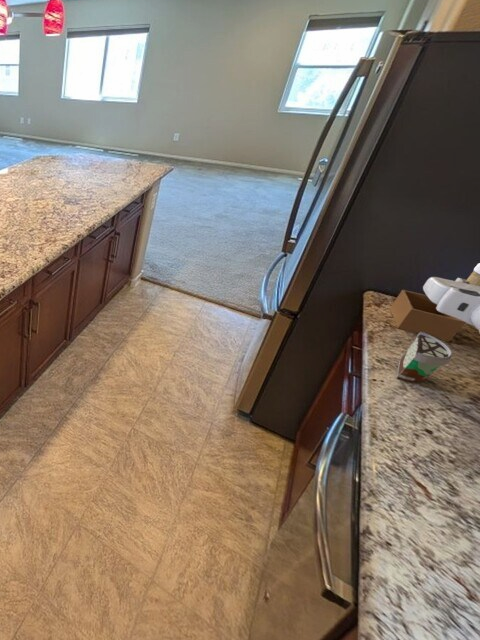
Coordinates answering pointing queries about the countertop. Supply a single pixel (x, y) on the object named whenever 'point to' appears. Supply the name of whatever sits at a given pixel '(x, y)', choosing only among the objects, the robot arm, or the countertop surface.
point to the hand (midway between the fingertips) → (475, 284)
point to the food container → (422, 358)
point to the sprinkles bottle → (475, 276)
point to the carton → (423, 316)
